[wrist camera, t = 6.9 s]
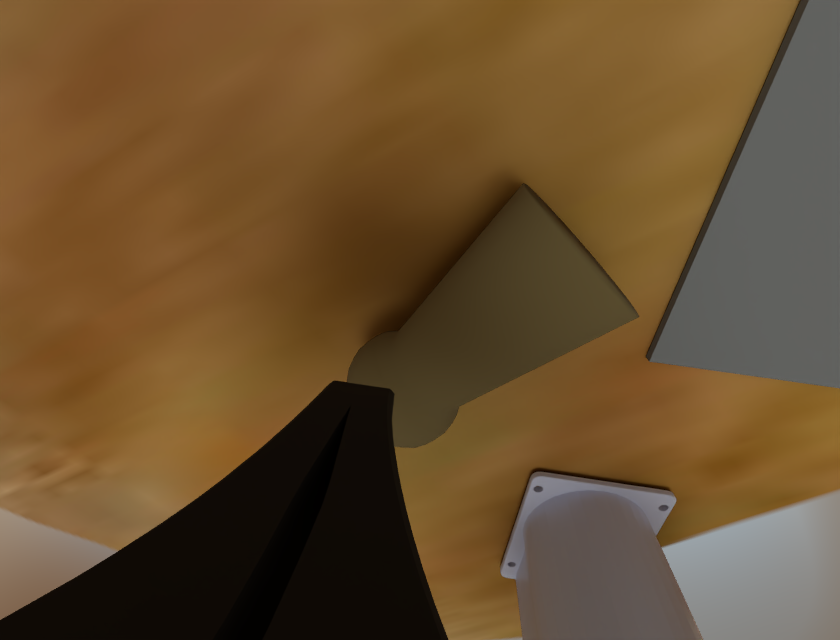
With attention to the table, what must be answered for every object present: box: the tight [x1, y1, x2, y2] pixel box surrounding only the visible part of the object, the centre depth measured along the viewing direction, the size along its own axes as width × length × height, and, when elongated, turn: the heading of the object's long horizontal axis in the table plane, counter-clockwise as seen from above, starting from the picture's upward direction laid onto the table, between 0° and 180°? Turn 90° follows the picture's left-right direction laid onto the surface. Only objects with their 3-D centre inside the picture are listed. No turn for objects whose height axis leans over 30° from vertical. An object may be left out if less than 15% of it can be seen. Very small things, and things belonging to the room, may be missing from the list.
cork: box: [347, 183, 639, 448], centre depth 17 cm, size 6×6×11 cm
